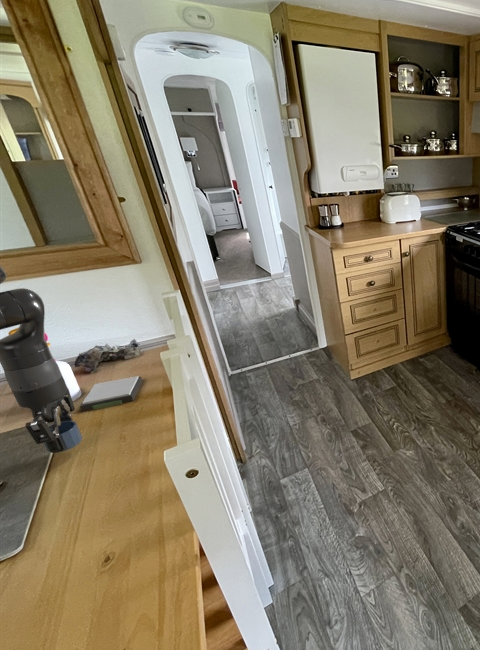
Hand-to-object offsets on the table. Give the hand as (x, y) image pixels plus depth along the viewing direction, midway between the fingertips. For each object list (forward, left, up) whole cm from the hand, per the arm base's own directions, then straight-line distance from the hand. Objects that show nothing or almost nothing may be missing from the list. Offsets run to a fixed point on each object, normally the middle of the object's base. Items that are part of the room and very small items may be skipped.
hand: (64, 441), depth 87 cm
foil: (-4, +48, -4) cm, 48 cm away
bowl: (0, 0, -1) cm, 1 cm away
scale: (+2, +24, -4) cm, 24 cm away
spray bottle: (-11, +28, -4) cm, 30 cm away
